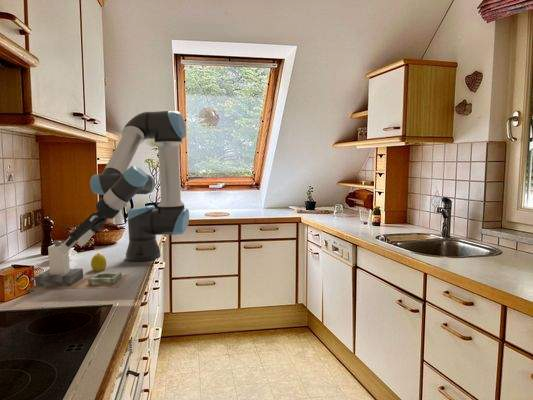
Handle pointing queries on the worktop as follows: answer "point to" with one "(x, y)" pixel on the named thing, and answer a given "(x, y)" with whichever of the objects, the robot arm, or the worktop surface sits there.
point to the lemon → (98, 262)
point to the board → (78, 280)
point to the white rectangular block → (58, 260)
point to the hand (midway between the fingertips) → (71, 247)
